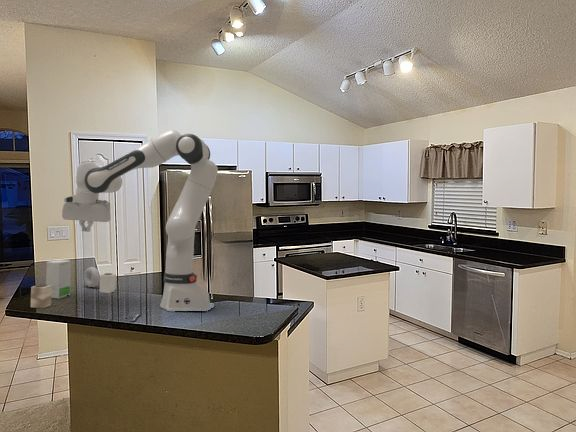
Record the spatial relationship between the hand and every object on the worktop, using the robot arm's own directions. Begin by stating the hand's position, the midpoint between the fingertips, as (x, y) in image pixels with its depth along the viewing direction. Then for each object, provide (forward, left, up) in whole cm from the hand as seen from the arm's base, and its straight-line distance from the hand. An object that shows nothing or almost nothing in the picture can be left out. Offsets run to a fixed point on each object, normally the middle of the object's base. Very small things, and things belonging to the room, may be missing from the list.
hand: (85, 231), depth 181 cm
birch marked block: (+8, +16, -29) cm, 34 cm away
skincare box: (+12, 0, -29) cm, 32 cm away
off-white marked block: (-2, -16, -29) cm, 33 cm away
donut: (+9, -21, -29) cm, 37 cm away
